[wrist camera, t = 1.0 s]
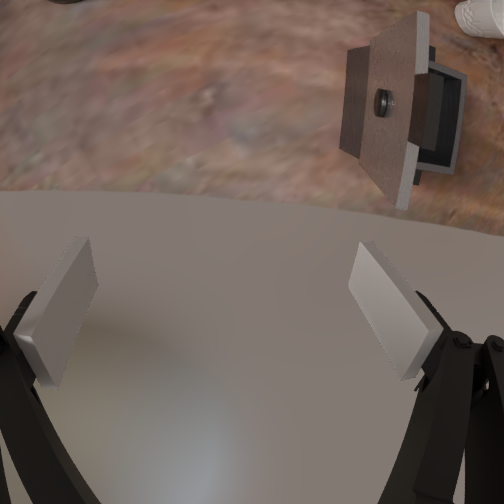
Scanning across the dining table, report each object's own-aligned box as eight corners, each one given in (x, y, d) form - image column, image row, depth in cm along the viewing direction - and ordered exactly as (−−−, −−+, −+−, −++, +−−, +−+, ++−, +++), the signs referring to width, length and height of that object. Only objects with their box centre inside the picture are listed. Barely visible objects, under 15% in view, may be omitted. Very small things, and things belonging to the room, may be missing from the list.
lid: (377, 43, 28) (364, 40, 29) (445, 6, 12) (423, -2, 12) (365, 163, 36) (352, 162, 36) (419, 225, 19) (398, 222, 19)
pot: (348, 35, 35) (378, 26, 27) (431, 59, 37) (467, 59, 29) (337, 164, 44) (362, 181, 37) (417, 172, 46) (449, 190, 38)
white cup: (460, 40, 35) (500, 40, 26) (445, -1, 31) (484, -7, 22) (485, 38, 34) (524, 39, 25) (472, -1, 30) (510, -5, 22)
